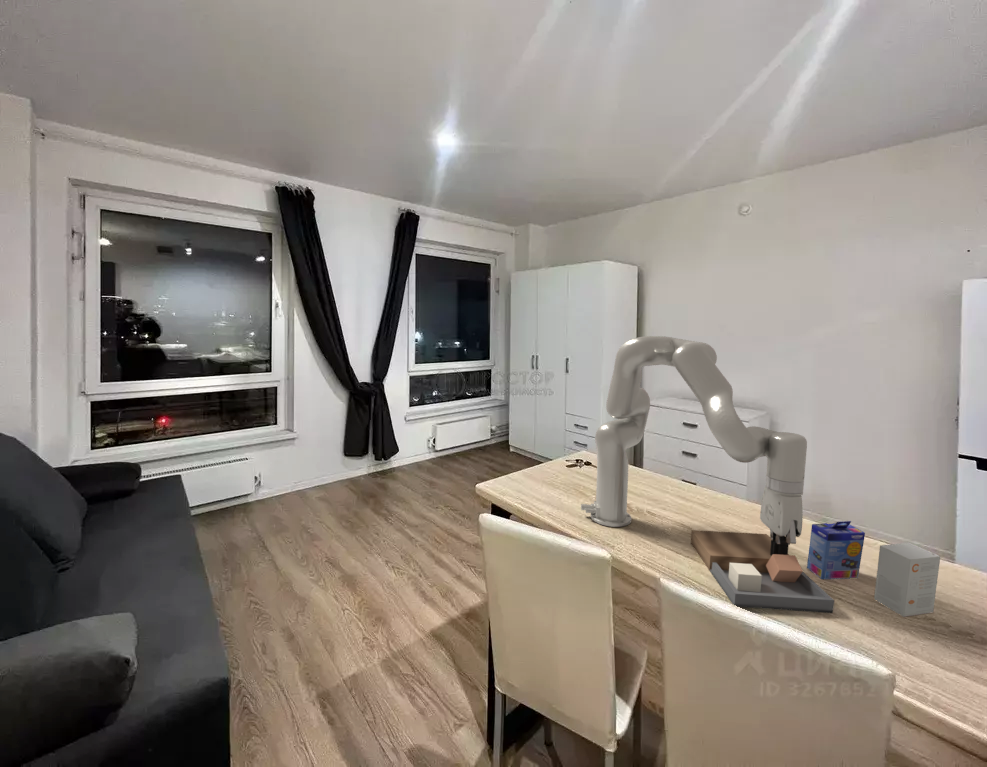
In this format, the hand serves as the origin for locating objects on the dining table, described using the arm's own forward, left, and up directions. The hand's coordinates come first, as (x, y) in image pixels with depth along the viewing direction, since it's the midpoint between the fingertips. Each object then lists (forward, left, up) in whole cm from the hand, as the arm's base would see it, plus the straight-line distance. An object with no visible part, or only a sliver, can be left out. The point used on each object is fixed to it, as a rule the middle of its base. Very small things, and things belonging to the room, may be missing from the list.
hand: (778, 557), depth 106 cm
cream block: (-10, -5, -1) cm, 11 cm away
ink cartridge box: (+15, +3, -5) cm, 16 cm away
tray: (-5, -6, -5) cm, 10 cm away
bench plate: (-5, +8, -5) cm, 11 cm away
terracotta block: (0, -1, 0) cm, 1 cm away
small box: (+22, -9, -5) cm, 24 cm away
